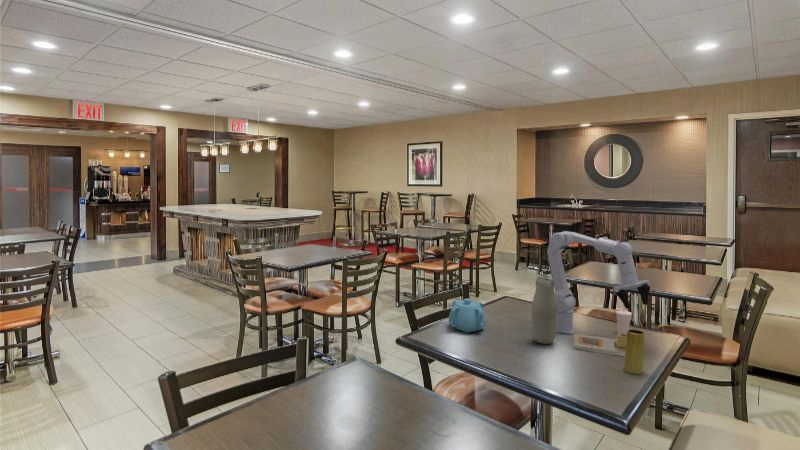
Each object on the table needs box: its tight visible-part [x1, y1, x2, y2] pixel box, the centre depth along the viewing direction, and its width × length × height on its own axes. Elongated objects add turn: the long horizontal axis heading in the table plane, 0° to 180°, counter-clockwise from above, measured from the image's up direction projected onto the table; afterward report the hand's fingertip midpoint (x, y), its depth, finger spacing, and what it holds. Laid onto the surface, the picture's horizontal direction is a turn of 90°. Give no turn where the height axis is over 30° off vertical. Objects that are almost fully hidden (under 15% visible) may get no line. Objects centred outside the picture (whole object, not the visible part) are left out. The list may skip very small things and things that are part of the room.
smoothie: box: [615, 303, 633, 334], centre depth 195 cm, size 6×6×14 cm
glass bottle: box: [530, 274, 558, 345], centre depth 183 cm, size 10×10×28 cm
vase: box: [623, 328, 645, 375], centre depth 158 cm, size 6×6×14 cm
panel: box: [572, 333, 626, 358], centre depth 180 cm, size 24×14×2 cm, turn 67°
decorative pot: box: [448, 298, 487, 334], centre depth 200 cm, size 16×16×14 cm
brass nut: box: [615, 332, 627, 349], centre depth 177 cm, size 5×5×6 cm
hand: (636, 306), depth 178 cm, fingers open, 7 cm apart
